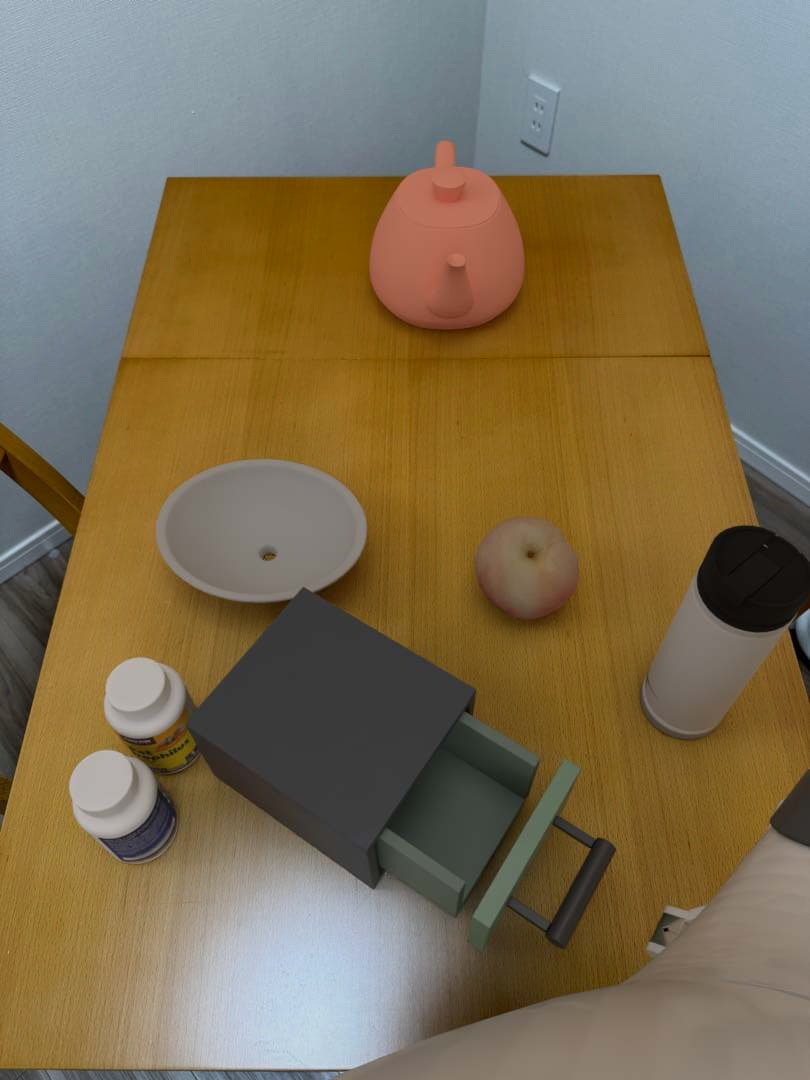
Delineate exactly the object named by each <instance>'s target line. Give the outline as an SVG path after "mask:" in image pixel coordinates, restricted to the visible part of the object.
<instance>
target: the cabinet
mask: <svg viewBox="0 0 810 1080" xmlns="http://www.w3.org/2000/svg"><path fill="white" fill-rule="evenodd" d="M476 695H477V688H475V687H473V686H472V685H470V684H468V683H467V682H465V681H464V680H461V679H459V678H458V677H456V676H455V675H454V674H452V673H450V672H448V671H446V670H445V669H443V668H441V667H439V666H438V665H436V664H434V663H432V662H431V661H429V660H428V659H426V658H424V657H422V656H421V655H419V654H418V653H416V652H414V651H412V650H411V649H409V648H407V647H406V646H404V645H403V644H401V643H400V642H398V641H395V640H394V639H392V638H391V637H389V636H387V635H386V634H384V633H382V632H380V631H378V629H375V628H374V627H372V626H370V625H369V624H368V623H365V622H364V621H362V620H361V619H359V618H357V617H355V616H354V615H352V614H351V613H349V612H347V611H345V610H343V609H341V608H340V607H339V606H337V605H335V604H333V603H331V602H330V601H328V600H327V599H325V598H323V597H321V596H320V595H318V594H316V592H315V593H313V592H311V591H310V590H308V589H306V588H305V587H302V589H301V590H300V591H299V592H298V593H297V594H296V595H295V597H294V598H293V599H292V600H289V602H288V603H287V605H286V606H284V608H283V609H282V610H281V611H280V612H279V614H278V615H277V616H276V618H274V619H273V621H272V622H271V623H270V624H269V625H268V626H267V628H266V629H265V630H264V631H263V632H262V633H261V635H260V636H259V637H258V638H257V639H256V640H255V642H254V643H252V645H251V646H250V647H249V649H247V650H246V652H245V653H244V654H243V655H242V657H241V658H240V659H238V661H237V662H236V663H235V665H234V666H233V667H232V668H231V669H230V670H229V671H228V673H227V674H226V675H225V676H224V677H223V679H221V681H220V682H219V683H218V684H217V685H216V687H215V688H214V689H213V690H212V691H211V692H210V693H209V695H208V696H206V698H205V699H204V700H203V701H202V702H201V704H200V705H199V706H198V707H197V710H196V711H195V712H194V713H193V714H192V715H191V717H190V718H189V719H188V720H187V721H186V722H185V725H186V727H187V729H188V730H189V732H190V734H191V736H192V737H193V739H194V741H195V743H196V744H197V746H198V748H199V750H200V752H201V753H200V754H201V755H202V757H203V759H204V760H205V762H206V764H207V766H208V767H209V769H210V770H211V773H212V775H213V776H214V777H215V778H217V779H218V780H220V781H221V782H222V783H224V784H226V785H227V786H228V787H229V788H231V789H232V790H234V791H235V792H237V793H238V794H239V795H241V796H242V797H243V798H245V799H247V800H248V801H249V802H250V803H251V804H253V805H254V806H256V807H257V808H259V809H260V810H261V811H263V812H264V813H266V814H267V815H268V816H270V817H271V818H273V819H274V820H276V821H277V822H278V823H279V824H281V825H282V826H283V827H286V829H288V830H289V831H290V832H292V833H293V834H295V835H297V836H298V837H299V838H300V839H302V840H303V841H305V842H306V843H307V844H309V845H310V846H312V847H313V848H315V849H316V850H318V851H319V852H320V853H321V854H323V855H325V856H326V857H327V858H328V859H330V860H331V861H332V862H334V863H335V864H337V865H338V866H340V867H341V869H344V870H345V871H347V872H348V873H349V874H351V875H352V876H354V877H355V878H356V879H358V880H359V881H360V882H362V883H363V884H364V885H366V886H367V887H369V888H370V889H372V890H373V891H374V890H375V889H376V888H377V886H378V885H379V883H380V882H381V880H382V879H383V877H384V876H385V874H386V873H387V871H386V870H385V869H383V868H382V867H381V866H379V865H378V864H377V858H376V851H375V845H374V844H375V843H376V841H377V840H378V838H379V837H380V835H381V834H382V833H383V831H384V830H385V828H386V827H387V825H388V824H389V822H390V821H391V819H392V818H393V816H394V815H395V813H396V812H397V810H398V809H399V807H400V806H401V804H402V803H403V801H404V800H405V799H406V797H407V796H408V794H409V793H410V791H411V790H412V788H413V787H414V785H415V784H416V782H417V781H418V779H419V778H420V776H421V775H422V773H423V772H424V770H425V769H426V768H427V766H428V765H429V763H430V762H431V760H432V759H433V757H434V756H435V754H436V753H437V751H438V750H439V748H440V747H441V745H442V744H443V742H444V741H445V739H446V738H447V737H448V735H449V734H450V732H451V731H452V729H453V728H454V726H455V725H456V723H457V722H458V720H459V719H460V717H461V716H462V714H463V713H464V711H465V712H467V713H469V714H470V715H472V716H474V712H475V703H476Z"/></svg>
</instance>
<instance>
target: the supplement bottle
mask: <svg viewBox="0 0 810 1080" xmlns="http://www.w3.org/2000/svg"><path fill="white" fill-rule="evenodd" d="M104 689H105V690H104V691H105V695H104V699H103V711H104V712H103V713H104V717H105V718H106V721H107V723H108V724H109V726H110V727H111V728H112V730H113V731H114V732H115V734H116V735H117V737H118V738H119V740H120V741H121V742H122V743H123V745H124V746H125V747H126V749H127V750H128V752H129V753H130V754H131V755H132V757H134V758H137V759H139V760H141V761H142V762H144V763H145V764H146V765H147V766H148V767H149V768H150V769H151V771H152V772H153V773H154V774H155V775H156V774H157V775H169V774H170V775H171V774H176V773H178V772H180V771H183V770H185V769H186V768H188V767H189V766H191V765H192V764H193V763H194V762H195V761H196V760H197V758H198V757H199V756H200V754H202V753H201V752H200V750H199V748H198V746H197V744H196V743H195V741H194V739H193V737H192V736H191V734H190V732H189V730H188V729H187V727H186V725H185V722H186V721H187V720H188V719H189V718H190V717H191V715H192V714H193V713H194V712H195V711H196V710H197V708H198V707H197V706H196V703H195V702H194V700H193V697H192V695H191V694H190V692H189V689H188V687H187V686H186V684H185V682H184V680H183V679H182V676H181V675H180V673H178V672H177V671H176V670H175V669H174V668H173V667H172V666H169V665H168V664H164V663H162V662H157V661H156V660H154V659H153V658H148V657H144V656H143V657H142V656H141V657H140V656H138V657H133V658H128V659H126V660H124V661H122V662H121V663H120V664H118V665H117V666H115V668H113V670H112V671H111V672H110V674H109V675H108V677H107V680H106V682H105V688H104Z"/></svg>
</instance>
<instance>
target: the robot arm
mask: <svg viewBox="0 0 810 1080" xmlns="http://www.w3.org/2000/svg"><path fill="white" fill-rule="evenodd" d="M768 822H769V824H768V826H767V828H766V830H765V832H764V833H763V835H762V836H761V837H760V838H759V839H758V840H757V841H756V842H755V844H754V845H753V846H752V848H751V849H750V850H749V851H748V852H747V853H746V855H745V856H744V857H743V858H742V860H741V861H740V862H739V863H738V865H737V866H736V868H735V869H734V870H733V871H732V873H731V874H730V876H729V877H728V878H727V879H726V880H725V882H724V883H723V884H722V886H721V887H720V888H719V889H718V891H716V893H715V895H714V896H713V897H712V899H711V900H709V901H708V903H707V904H705V905H701V906H698V907H694V908H691V909H689V910H687V909H682V908H679V907H676V906H672V905H669V904H667V905H665V907H664V910H663V912H662V913H661V915H660V918H659V920H658V922H657V925H656V927H655V930H654V931H653V933H652V936H651V937H650V939H649V942H648V943H647V946H646V947H645V952H646V954H648V955H649V957H650V958H651V960H650V961H649V962H648V963H646V964H645V965H644V966H642V968H640V969H639V970H638V971H637V972H635V973H634V974H633V975H632V976H630V977H629V978H628V979H626V980H625V981H623V982H622V983H620V984H614V985H609V986H604V987H600V988H595V989H591V990H585V991H581V992H576V993H575V992H574V993H571V994H566V995H561V996H557V997H553V998H550V999H546V1000H544V1001H540V1002H537V1003H534V1004H533V1003H532V1004H531V1005H528V1006H524V1007H521V1008H517V1009H515V1010H511V1011H508V1012H505V1013H501V1014H498V1015H494V1016H491V1017H487V1018H485V1019H481V1020H479V1021H476V1022H473V1023H469V1024H466V1025H463V1026H461V1027H457V1028H454V1029H451V1030H448V1031H445V1032H442V1033H438V1034H436V1035H433V1036H431V1037H429V1038H426V1039H423V1040H420V1041H419V1042H416V1043H413V1044H411V1045H409V1046H405V1047H403V1048H400V1049H398V1050H396V1051H393V1052H391V1053H389V1054H386V1055H384V1056H381V1057H379V1058H376V1059H374V1060H371V1061H368V1062H366V1063H364V1064H361V1065H359V1066H356V1067H354V1068H351V1069H348V1070H346V1071H344V1072H342V1073H339V1074H337V1075H335V1076H333V1077H331V1078H329V1079H328V1080H810V768H809V769H807V770H806V771H805V772H804V774H803V775H802V776H801V778H799V780H798V782H797V783H796V784H795V785H794V787H793V788H792V790H791V791H790V792H789V793H788V794H787V796H786V797H785V798H783V799H780V800H779V802H777V805H776V807H775V809H774V812H773V814H772V815H771V817H769V821H768Z"/></svg>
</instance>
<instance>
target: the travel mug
mask: <svg viewBox="0 0 810 1080" xmlns="http://www.w3.org/2000/svg"><path fill="white" fill-rule="evenodd" d="M809 598H810V560H809V559H808V557H806V555H805V554H804V553H803V552H802V551H801V552H800V550H799V549H798V548H797V547H796V546H795V545H794V544H792V543H791V542H790V541H788V540H786V539H785V538H783V537H781V536H779V535H777V532H775V531H772V530H770V529H768V528H765V527H762V526H758V525H750V524H749V525H747V524H744V525H743V524H742V525H734V526H731V527H728V528H725V529H724V530H722V531H719V533H718V534H717V535H716V536H715V537H714V538H713V540H712V541H711V544H710V546H709V548H708V549H707V551H706V554H705V556H704V558H703V559H702V561H701V562H700V564H699V566H698V568H697V570H696V572H695V574H694V576H693V578H692V580H691V582H690V584H689V587H688V588H687V590H686V593H685V595H684V597H683V599H682V601H681V602H680V605H679V607H678V609H677V611H676V613H675V615H674V618H673V619H672V622H671V623H670V626H669V627H668V630H667V631H666V633H665V636H664V638H663V640H662V641H661V644H660V646H659V648H658V650H657V652H656V654H655V656H654V659H653V660H652V662H651V665H650V667H649V669H648V671H647V673H646V674H645V677H644V678H643V681H642V683H641V686H640V690H639V700H640V705H641V709H642V711H643V713H644V715H645V717H646V718H647V719H648V721H649V722H650V724H652V725H653V726H654V727H655V728H656V729H657V730H659V731H660V732H662V733H664V734H665V735H667V736H669V737H672V738H675V739H680V740H685V741H687V740H696V739H702V738H703V737H706V736H708V735H709V734H711V733H713V731H714V730H715V729H716V728H717V727H718V726H719V725H720V723H721V722H722V720H723V718H724V717H725V716H726V715H727V713H728V712H729V710H731V708H732V706H733V705H734V703H735V702H736V701H737V699H738V698H739V697H740V695H741V693H742V692H743V691H744V690H745V688H746V687H747V685H748V684H749V683H750V682H751V680H752V679H753V677H754V675H755V674H756V673H757V671H758V670H759V668H760V667H761V666H762V664H763V663H764V662H765V660H766V659H767V658H768V656H769V655H770V653H771V652H772V650H773V649H774V648H775V647H776V645H777V644H778V642H779V641H780V639H781V638H782V636H783V635H784V634H785V633H786V631H787V630H788V628H789V627H790V626H791V624H792V622H793V621H794V620H795V619H796V617H797V615H798V612H799V611H800V610H801V609H802V608H803V606H804V604H805V603H806V601H808V599H809Z"/></svg>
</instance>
